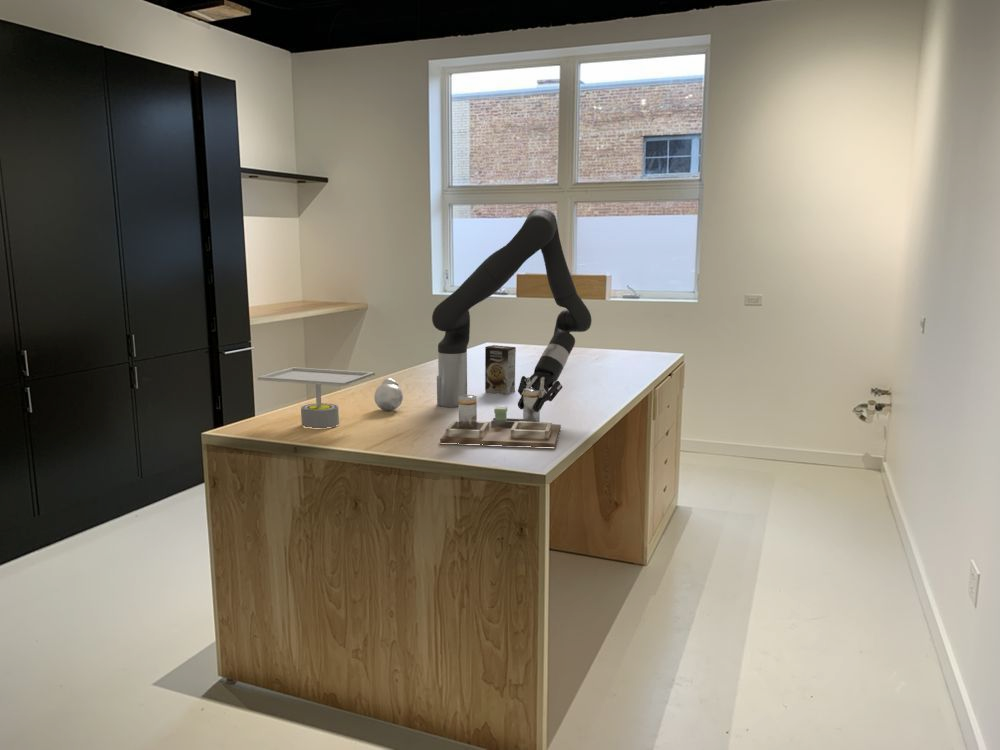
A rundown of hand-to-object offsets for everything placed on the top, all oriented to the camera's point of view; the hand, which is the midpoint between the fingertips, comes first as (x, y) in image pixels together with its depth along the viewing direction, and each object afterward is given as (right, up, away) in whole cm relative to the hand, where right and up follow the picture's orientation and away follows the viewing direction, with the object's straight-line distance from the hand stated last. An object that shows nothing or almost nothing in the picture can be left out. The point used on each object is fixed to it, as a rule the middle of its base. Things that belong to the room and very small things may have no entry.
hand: (527, 408), depth 215 cm
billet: (+1, -4, +2) cm, 5 cm away
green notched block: (-8, -4, -6) cm, 10 cm away
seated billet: (-17, -6, -14) cm, 23 cm away
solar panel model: (-60, -5, 0) cm, 60 cm away
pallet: (-7, -7, -12) cm, 16 cm away
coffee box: (-8, +4, +47) cm, 47 cm away
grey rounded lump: (-43, -2, +19) cm, 47 cm away
